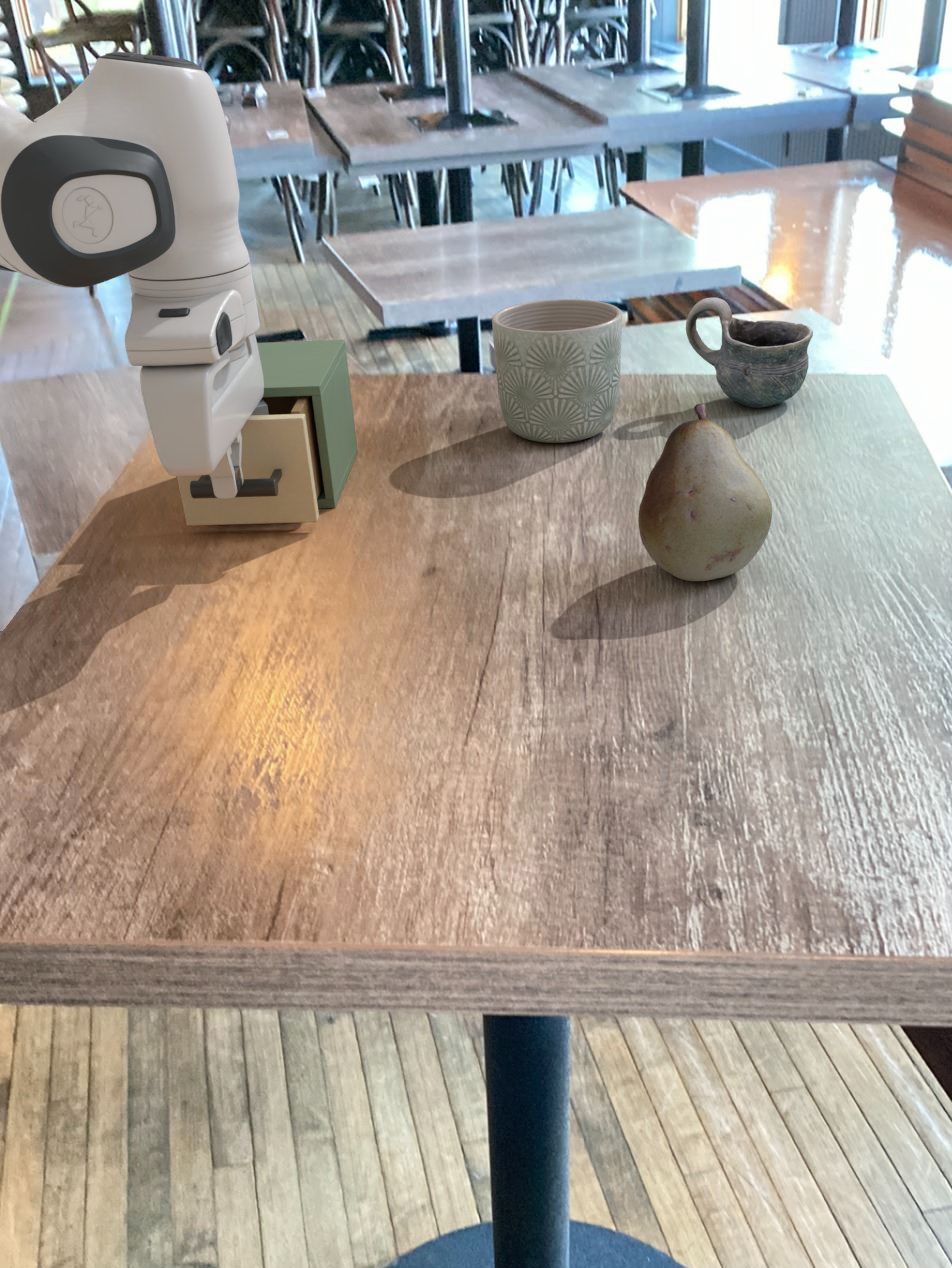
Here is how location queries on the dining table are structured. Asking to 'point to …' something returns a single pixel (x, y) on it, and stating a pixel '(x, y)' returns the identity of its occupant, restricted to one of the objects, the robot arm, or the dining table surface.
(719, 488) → the fruit
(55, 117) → the robot arm
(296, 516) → the drawer
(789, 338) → the mug
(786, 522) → the dining table surface
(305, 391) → the cabinet
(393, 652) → the dining table surface
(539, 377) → the planter
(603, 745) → the dining table surface
